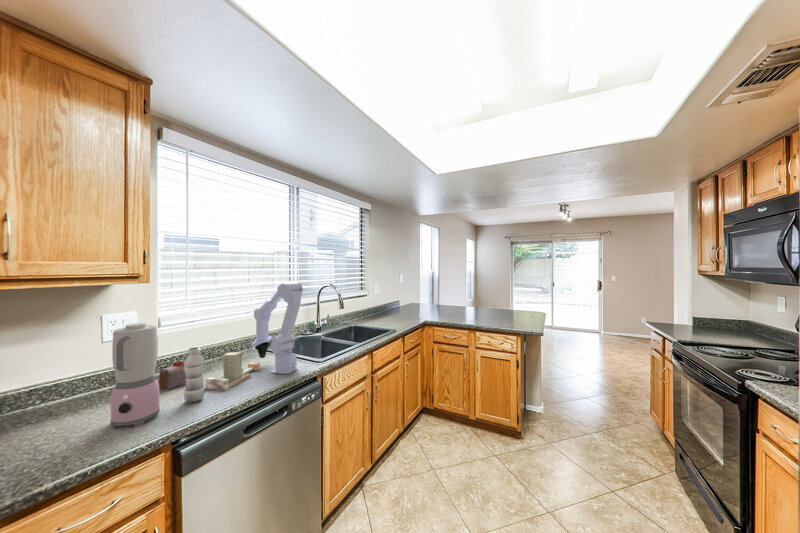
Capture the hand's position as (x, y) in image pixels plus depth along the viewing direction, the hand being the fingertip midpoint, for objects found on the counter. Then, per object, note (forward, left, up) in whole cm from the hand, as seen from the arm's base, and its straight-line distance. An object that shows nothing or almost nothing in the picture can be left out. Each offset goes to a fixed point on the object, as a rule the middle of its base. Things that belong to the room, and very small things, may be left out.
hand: (262, 357), depth 153 cm
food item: (+20, +28, -5) cm, 35 cm away
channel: (0, +22, -4) cm, 22 cm away
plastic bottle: (-1, +41, -5) cm, 41 cm away
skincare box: (0, +20, -5) cm, 21 cm away
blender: (+5, +58, -5) cm, 58 cm away
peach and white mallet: (0, +11, -4) cm, 12 cm away
